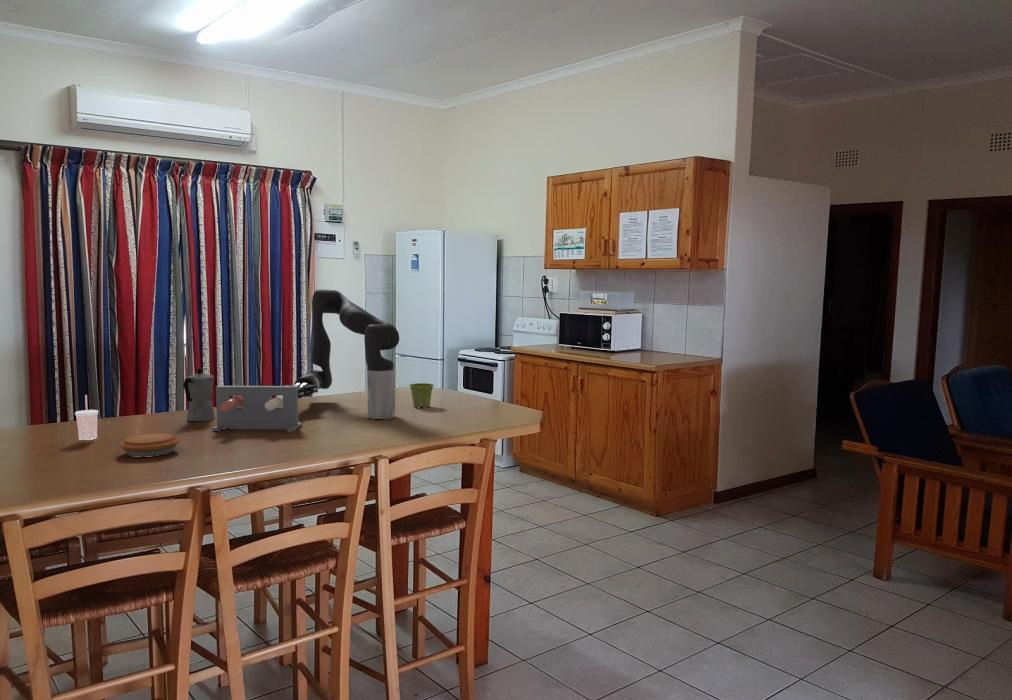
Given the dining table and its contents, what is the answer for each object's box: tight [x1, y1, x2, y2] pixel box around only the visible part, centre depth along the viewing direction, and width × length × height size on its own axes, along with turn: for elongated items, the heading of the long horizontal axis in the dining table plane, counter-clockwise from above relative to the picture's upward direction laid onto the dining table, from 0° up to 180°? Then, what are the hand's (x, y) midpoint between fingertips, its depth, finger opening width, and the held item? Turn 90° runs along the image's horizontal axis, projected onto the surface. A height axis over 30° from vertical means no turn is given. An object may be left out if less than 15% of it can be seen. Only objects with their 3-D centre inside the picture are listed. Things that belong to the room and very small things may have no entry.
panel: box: [211, 385, 303, 433], centre depth 242 cm, size 26×10×14 cm, turn 90°
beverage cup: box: [74, 394, 99, 441], centre depth 223 cm, size 6×6×14 cm
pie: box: [119, 432, 181, 457], centre depth 208 cm, size 15×16×5 cm
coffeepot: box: [182, 368, 216, 422], centre depth 255 cm, size 15×9×18 cm, turn 169°
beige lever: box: [265, 396, 283, 411], centre depth 241 cm, size 5×15×5 cm, turn 0°
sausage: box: [220, 395, 243, 412], centre depth 238 cm, size 5×15×5 cm, turn 0°
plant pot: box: [408, 382, 435, 408], centre depth 284 cm, size 9×9×9 cm
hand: (294, 392), depth 261 cm, fingers closed
